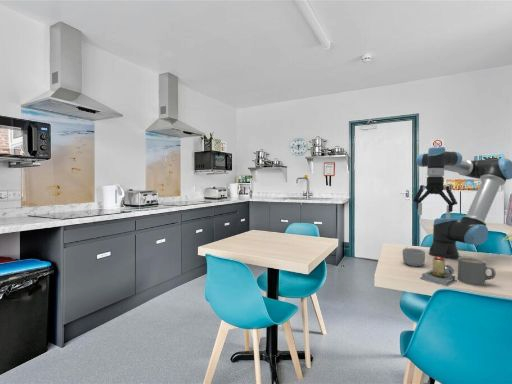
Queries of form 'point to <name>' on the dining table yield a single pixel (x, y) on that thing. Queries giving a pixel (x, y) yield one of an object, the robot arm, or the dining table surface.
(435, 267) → the cylinder
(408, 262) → the teacup
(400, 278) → the dining table surface
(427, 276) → the flange seat
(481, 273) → the coffee mug
